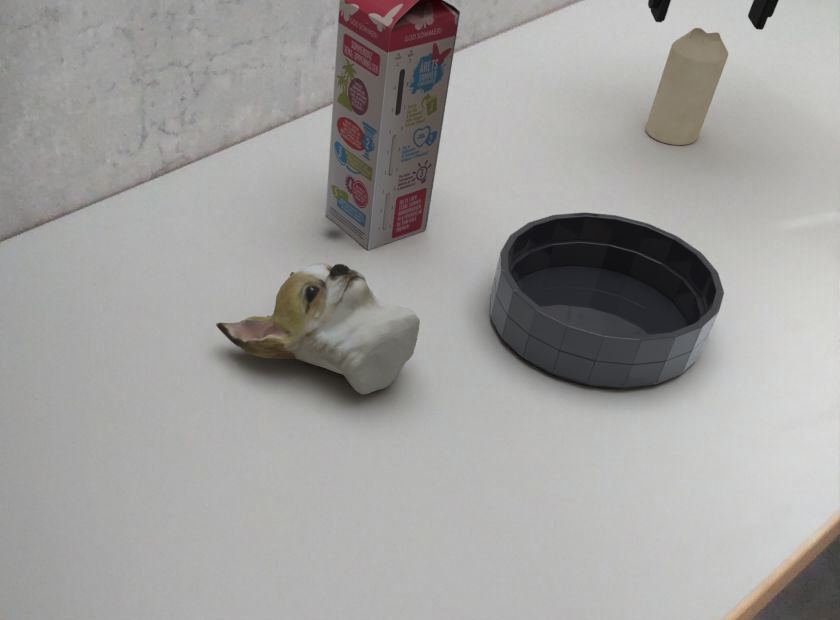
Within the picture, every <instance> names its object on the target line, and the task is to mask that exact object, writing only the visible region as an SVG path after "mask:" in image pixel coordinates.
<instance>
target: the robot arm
mask: <svg viewBox="0 0 840 620" xmlns="http://www.w3.org/2000/svg"><path fill="white" fill-rule="evenodd" d="M671 2H672V0H647V6H648V9H650V13H651V16H652V17H653V20H654V21H655V23H662V22H664V21H665V19H666V17H667V14H668V11H669V7H670V5H671ZM778 3H779V0H752V3H751V6H750V9H749V11H748V14H747V18H748V19H749V21H750V22H751V25H752V26H753V27H754V29H756V30H764V28H765V26H766V23H767V21H768V19H769V18H772V16H773V15H774V13H775V10H776V8H777V6H778Z"/></svg>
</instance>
